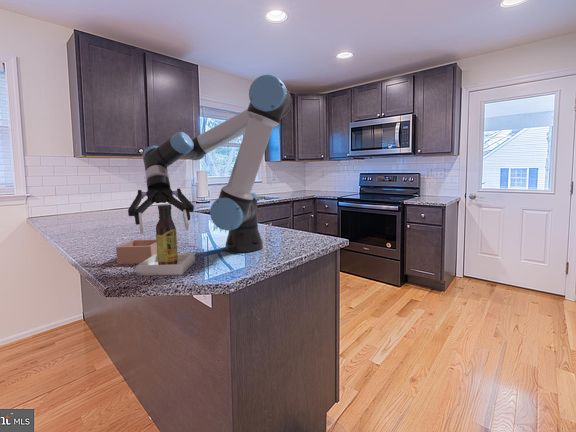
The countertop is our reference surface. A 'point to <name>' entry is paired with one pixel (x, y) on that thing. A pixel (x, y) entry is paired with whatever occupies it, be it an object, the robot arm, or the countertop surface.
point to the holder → (136, 251)
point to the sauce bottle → (166, 237)
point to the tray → (165, 266)
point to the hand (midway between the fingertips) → (165, 229)
